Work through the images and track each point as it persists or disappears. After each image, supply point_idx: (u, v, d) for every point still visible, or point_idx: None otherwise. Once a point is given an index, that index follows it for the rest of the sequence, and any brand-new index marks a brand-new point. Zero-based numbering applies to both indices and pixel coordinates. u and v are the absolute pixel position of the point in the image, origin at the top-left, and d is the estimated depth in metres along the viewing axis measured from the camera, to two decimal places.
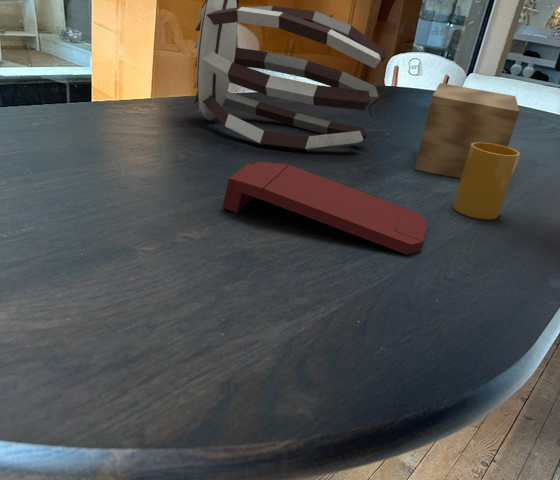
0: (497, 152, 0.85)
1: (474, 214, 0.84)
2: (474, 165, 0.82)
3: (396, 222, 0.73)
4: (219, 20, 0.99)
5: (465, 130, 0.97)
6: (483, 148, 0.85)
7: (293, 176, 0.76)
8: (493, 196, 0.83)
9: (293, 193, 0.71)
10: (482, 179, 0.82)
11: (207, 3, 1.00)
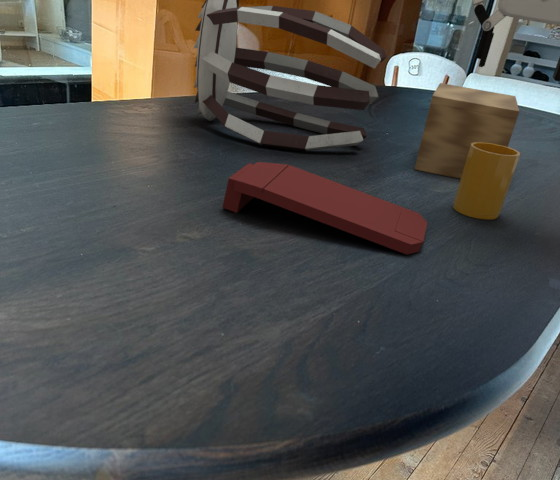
0: (497, 152, 0.85)
1: (474, 214, 0.84)
2: (474, 165, 0.82)
3: (396, 222, 0.73)
4: (219, 20, 0.99)
5: (465, 130, 0.97)
6: (483, 148, 0.85)
7: (293, 176, 0.76)
8: (493, 196, 0.83)
9: (293, 193, 0.71)
10: (482, 179, 0.82)
11: (207, 3, 1.00)
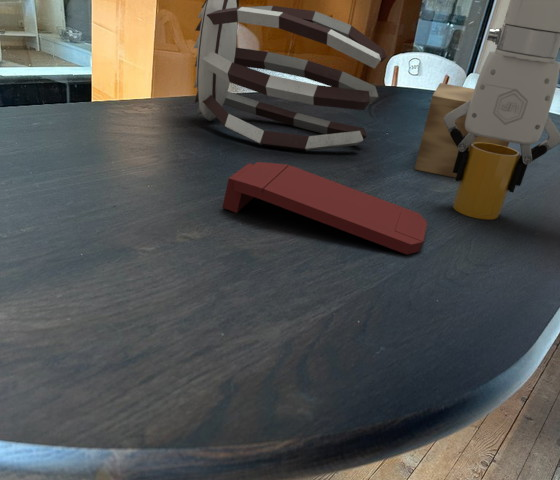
0: (497, 152, 0.85)
1: (474, 214, 0.84)
2: (474, 165, 0.82)
3: (396, 222, 0.73)
4: (219, 20, 0.99)
5: (465, 130, 0.97)
6: (483, 148, 0.85)
7: (293, 176, 0.76)
8: (493, 196, 0.83)
9: (293, 193, 0.71)
10: (482, 179, 0.82)
11: (207, 3, 1.00)
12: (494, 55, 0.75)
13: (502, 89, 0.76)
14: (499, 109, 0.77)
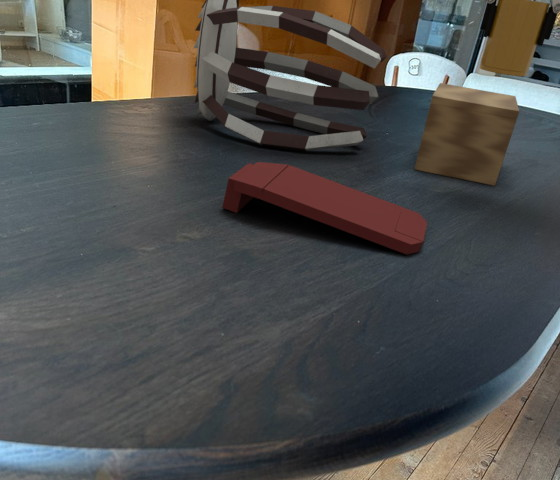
0: None
1: (503, 70, 0.83)
2: (503, 16, 0.81)
3: (396, 222, 0.73)
4: (219, 20, 0.99)
5: (465, 130, 0.97)
6: None
7: (293, 176, 0.76)
8: (523, 49, 0.82)
9: (293, 193, 0.71)
10: (512, 30, 0.81)
11: (207, 3, 1.00)
12: None
13: None
14: None
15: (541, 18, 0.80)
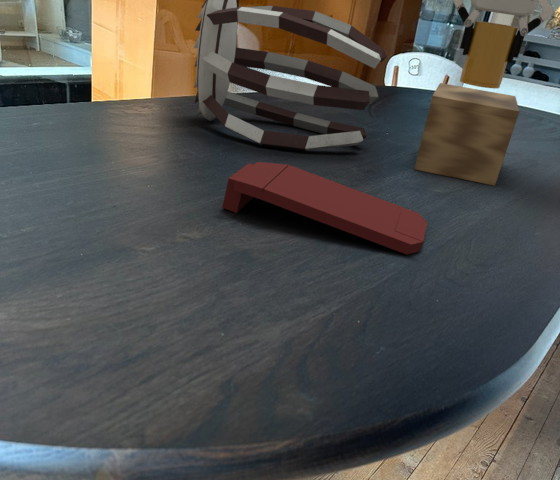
0: None
1: (478, 83, 0.98)
2: (478, 37, 0.96)
3: (396, 222, 0.73)
4: (219, 20, 0.99)
5: (465, 130, 0.97)
6: None
7: (293, 176, 0.76)
8: (495, 65, 0.97)
9: (293, 193, 0.71)
10: (485, 49, 0.96)
11: (207, 3, 1.00)
12: None
13: None
14: None
15: (510, 40, 0.95)
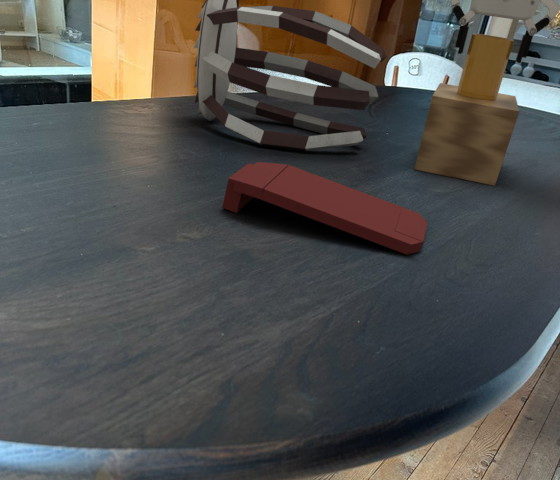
0: None
1: (475, 95, 0.99)
2: (475, 50, 0.97)
3: (396, 222, 0.73)
4: (219, 20, 0.99)
5: (465, 130, 0.97)
6: None
7: (293, 176, 0.76)
8: (491, 78, 0.98)
9: (293, 193, 0.71)
10: (482, 62, 0.97)
11: (207, 3, 1.00)
12: None
13: None
14: None
15: (506, 52, 0.96)
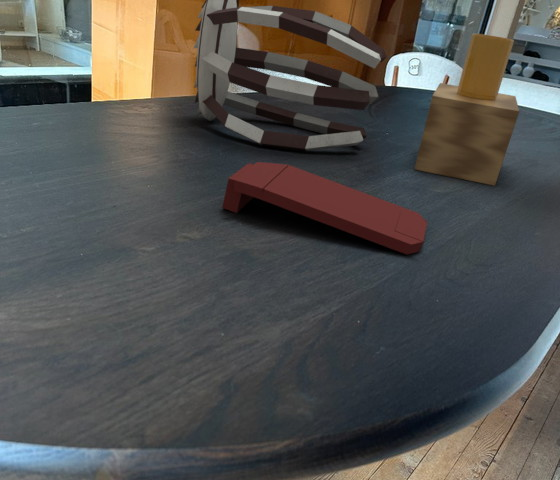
0: None
1: (475, 95, 0.99)
2: (475, 50, 0.97)
3: (396, 222, 0.73)
4: (219, 20, 0.99)
5: (465, 130, 0.97)
6: None
7: (293, 176, 0.76)
8: (491, 78, 0.98)
9: (293, 193, 0.71)
10: (482, 62, 0.97)
11: (207, 3, 1.00)
12: None
13: None
14: None
15: (506, 52, 0.96)
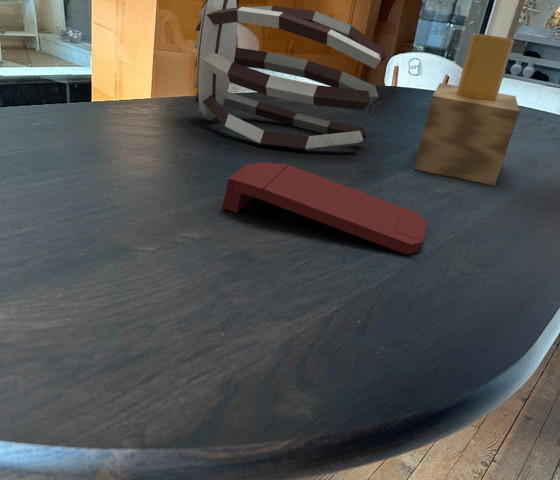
0: None
1: (475, 95, 0.99)
2: (475, 50, 0.97)
3: (396, 222, 0.73)
4: (219, 20, 0.99)
5: (465, 130, 0.97)
6: None
7: (293, 176, 0.76)
8: (491, 78, 0.98)
9: (293, 193, 0.71)
10: (482, 62, 0.97)
11: (207, 3, 1.00)
12: None
13: None
14: None
15: (506, 52, 0.96)
